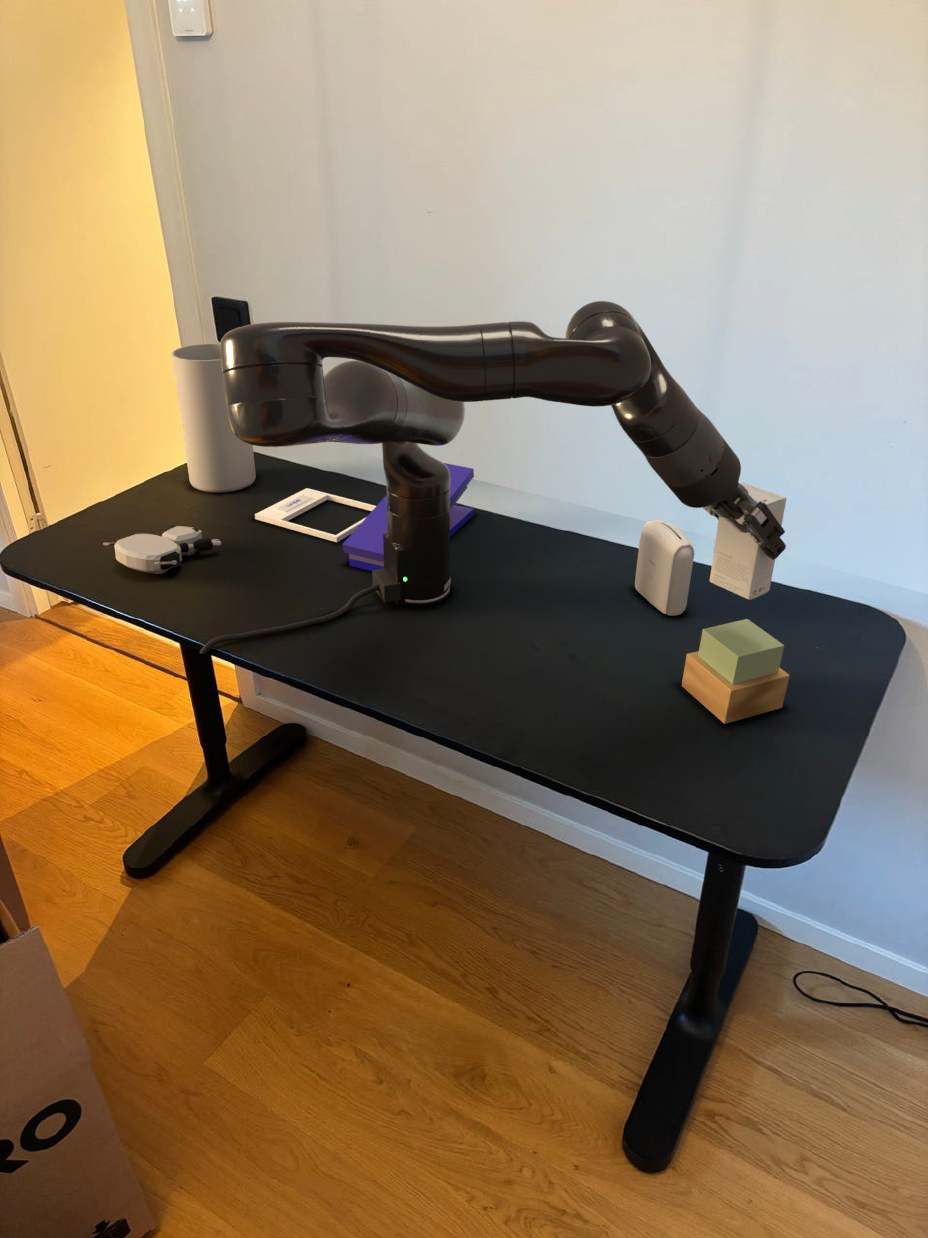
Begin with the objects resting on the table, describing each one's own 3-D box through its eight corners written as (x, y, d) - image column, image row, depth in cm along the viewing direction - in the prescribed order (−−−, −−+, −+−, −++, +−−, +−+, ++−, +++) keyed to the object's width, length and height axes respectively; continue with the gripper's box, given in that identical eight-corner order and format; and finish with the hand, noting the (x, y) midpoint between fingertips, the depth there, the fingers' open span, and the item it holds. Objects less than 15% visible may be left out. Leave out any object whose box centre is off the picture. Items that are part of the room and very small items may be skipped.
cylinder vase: (224, 499, 169) (208, 364, 157) (176, 485, 175) (156, 353, 162) (269, 478, 179) (257, 349, 166) (222, 465, 184) (207, 340, 171)
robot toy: (176, 540, 155) (102, 566, 144) (174, 515, 153) (98, 540, 142) (227, 558, 150) (154, 587, 138) (226, 533, 148) (152, 560, 136)
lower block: (724, 724, 111) (731, 690, 109) (681, 685, 119) (686, 653, 116) (782, 708, 115) (790, 675, 112) (736, 671, 122) (743, 639, 119)
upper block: (732, 684, 110) (738, 656, 108) (697, 655, 116) (702, 628, 114) (778, 672, 113) (784, 645, 111) (742, 645, 118) (747, 618, 116)
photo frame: (306, 486, 172) (385, 507, 164) (307, 492, 172) (385, 513, 165) (254, 513, 161) (336, 536, 153) (255, 519, 161) (336, 542, 154)
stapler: (476, 515, 165) (478, 464, 160) (405, 580, 142) (405, 523, 138) (419, 504, 169) (419, 454, 164) (342, 566, 146) (339, 509, 141)
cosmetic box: (770, 591, 108) (791, 496, 102) (747, 602, 105) (768, 505, 99) (727, 572, 112) (745, 480, 106) (705, 582, 109) (721, 488, 103)
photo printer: (629, 587, 142) (639, 514, 136) (653, 583, 143) (664, 511, 137) (664, 619, 134) (675, 543, 127) (689, 614, 135) (701, 538, 129)
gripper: (628, 459, 102) (698, 539, 112) (706, 507, 91) (776, 591, 101) (674, 408, 101) (740, 493, 111) (758, 450, 90) (824, 540, 100)
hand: (757, 539), depth 106 cm, fingers closed on cosmetic box, 6 cm apart
